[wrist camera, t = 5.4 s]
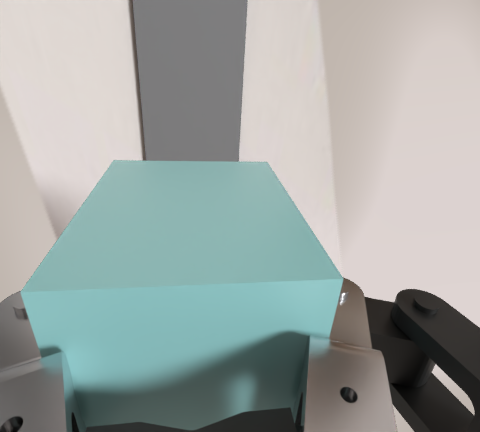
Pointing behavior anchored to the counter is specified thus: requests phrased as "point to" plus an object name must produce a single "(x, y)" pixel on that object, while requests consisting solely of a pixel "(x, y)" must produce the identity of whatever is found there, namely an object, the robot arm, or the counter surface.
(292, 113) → the counter surface
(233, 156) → the mat
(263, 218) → the teal rectangular block
